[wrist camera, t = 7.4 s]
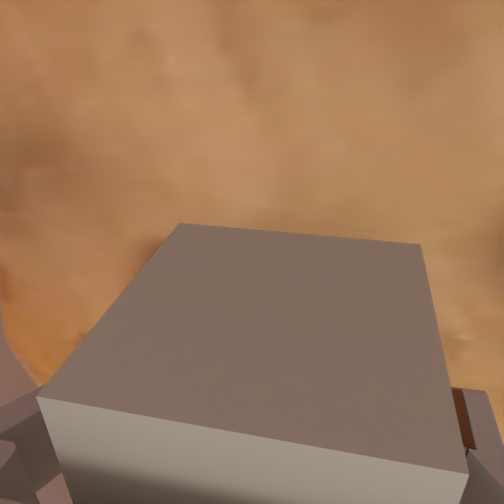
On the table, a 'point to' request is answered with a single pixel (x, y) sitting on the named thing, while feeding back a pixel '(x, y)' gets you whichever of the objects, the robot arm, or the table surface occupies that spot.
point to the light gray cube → (262, 379)
